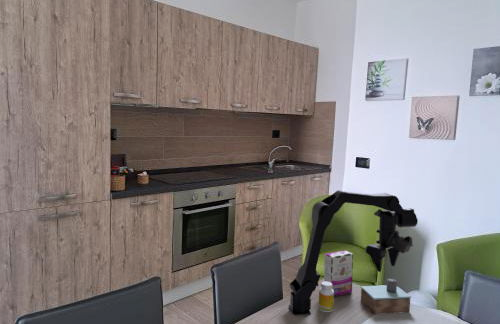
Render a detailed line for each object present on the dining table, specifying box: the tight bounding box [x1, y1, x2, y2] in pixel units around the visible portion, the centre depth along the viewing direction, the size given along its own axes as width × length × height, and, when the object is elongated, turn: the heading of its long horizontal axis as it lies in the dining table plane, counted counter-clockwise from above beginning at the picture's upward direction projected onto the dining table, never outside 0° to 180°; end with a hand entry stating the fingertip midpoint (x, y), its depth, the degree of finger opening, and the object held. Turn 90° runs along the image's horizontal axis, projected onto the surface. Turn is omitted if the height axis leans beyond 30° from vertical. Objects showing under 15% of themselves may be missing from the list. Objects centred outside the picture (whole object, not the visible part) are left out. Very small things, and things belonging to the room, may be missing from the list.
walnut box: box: [360, 288, 411, 315], centre depth 131 cm, size 14×10×5 cm
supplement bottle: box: [317, 280, 335, 313], centre depth 128 cm, size 5×5×10 cm
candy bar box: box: [323, 250, 354, 298], centre depth 142 cm, size 11×5×16 cm, turn 117°
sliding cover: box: [360, 278, 412, 300], centre depth 131 cm, size 14×10×5 cm
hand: (386, 268), depth 131 cm, fingers open, 9 cm apart
